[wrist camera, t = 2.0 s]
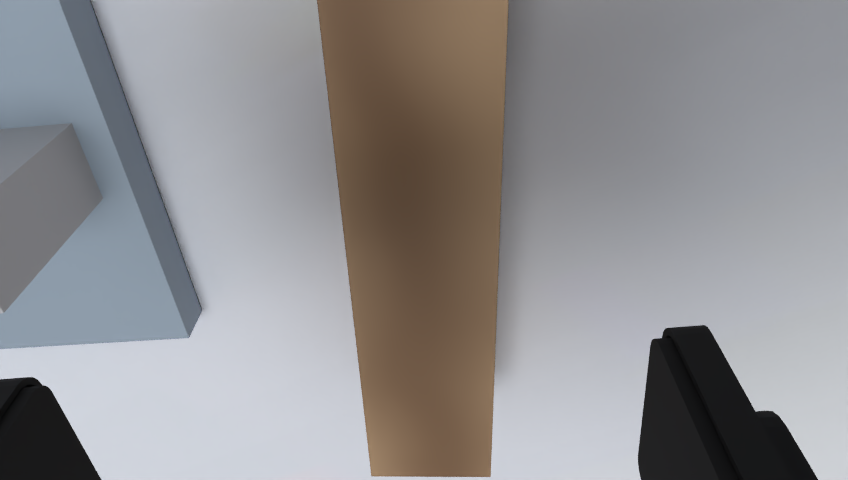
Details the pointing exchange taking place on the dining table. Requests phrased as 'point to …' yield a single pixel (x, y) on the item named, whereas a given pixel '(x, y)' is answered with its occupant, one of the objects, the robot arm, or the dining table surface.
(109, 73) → the ridge stand
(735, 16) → the dining table surface
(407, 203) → the walnut batten
